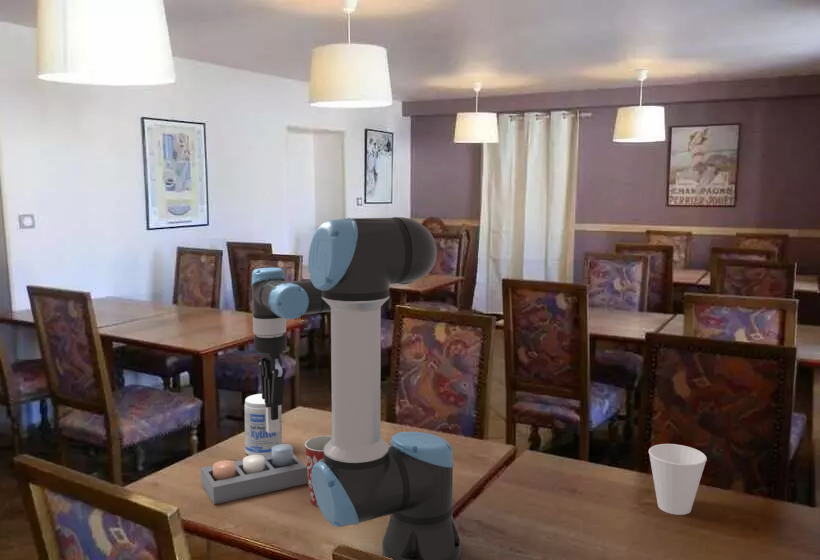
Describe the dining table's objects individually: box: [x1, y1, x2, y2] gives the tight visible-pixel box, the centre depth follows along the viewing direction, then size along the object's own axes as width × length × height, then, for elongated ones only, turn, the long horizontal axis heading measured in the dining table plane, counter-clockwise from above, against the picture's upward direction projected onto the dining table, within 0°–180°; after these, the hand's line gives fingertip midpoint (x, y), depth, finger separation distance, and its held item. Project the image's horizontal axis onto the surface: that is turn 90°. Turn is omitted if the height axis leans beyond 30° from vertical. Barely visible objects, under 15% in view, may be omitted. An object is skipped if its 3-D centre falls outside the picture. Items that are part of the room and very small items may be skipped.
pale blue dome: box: [272, 443, 294, 466], centre depth 166 cm, size 5×5×4 cm
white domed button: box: [242, 455, 265, 475], centre depth 162 cm, size 5×5×4 cm
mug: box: [304, 435, 332, 507], centre depth 155 cm, size 13×9×14 cm
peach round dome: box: [212, 459, 236, 481], centre depth 159 cm, size 5×5×4 cm
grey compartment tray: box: [200, 453, 308, 505], centre depth 163 cm, size 12×22×4 cm, turn 119°
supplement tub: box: [244, 393, 283, 456], centre depth 181 cm, size 10×10×15 cm
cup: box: [648, 443, 707, 516], centre depth 150 cm, size 12×12×12 cm
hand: (273, 431), depth 163 cm, fingers closed
